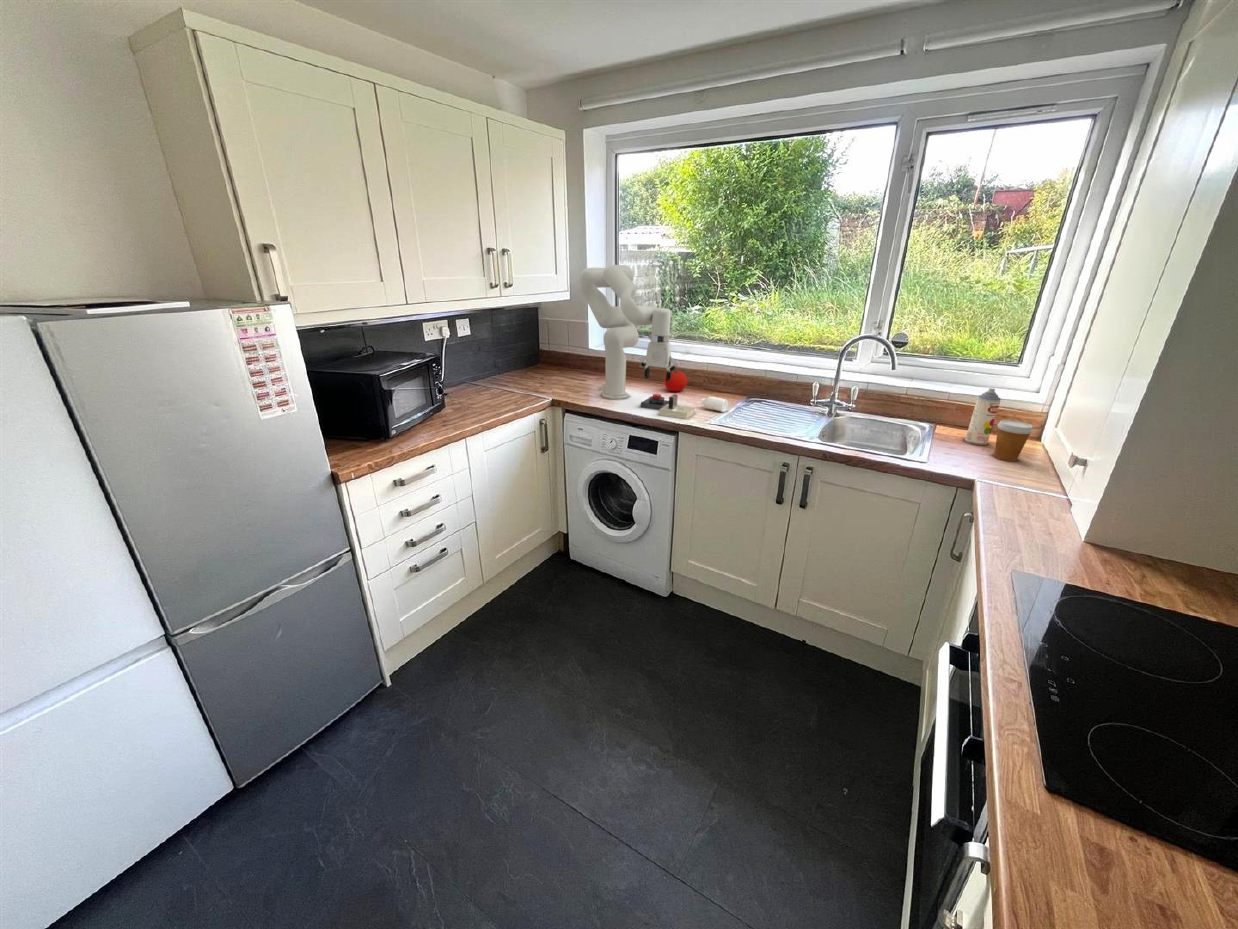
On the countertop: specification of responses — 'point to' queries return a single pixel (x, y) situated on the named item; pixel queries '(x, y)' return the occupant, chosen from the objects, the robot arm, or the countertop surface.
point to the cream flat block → (677, 411)
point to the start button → (656, 396)
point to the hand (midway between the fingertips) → (657, 379)
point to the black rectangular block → (673, 401)
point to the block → (654, 403)
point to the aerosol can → (983, 418)
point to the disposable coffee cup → (1011, 439)
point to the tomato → (676, 381)
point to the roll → (715, 403)
